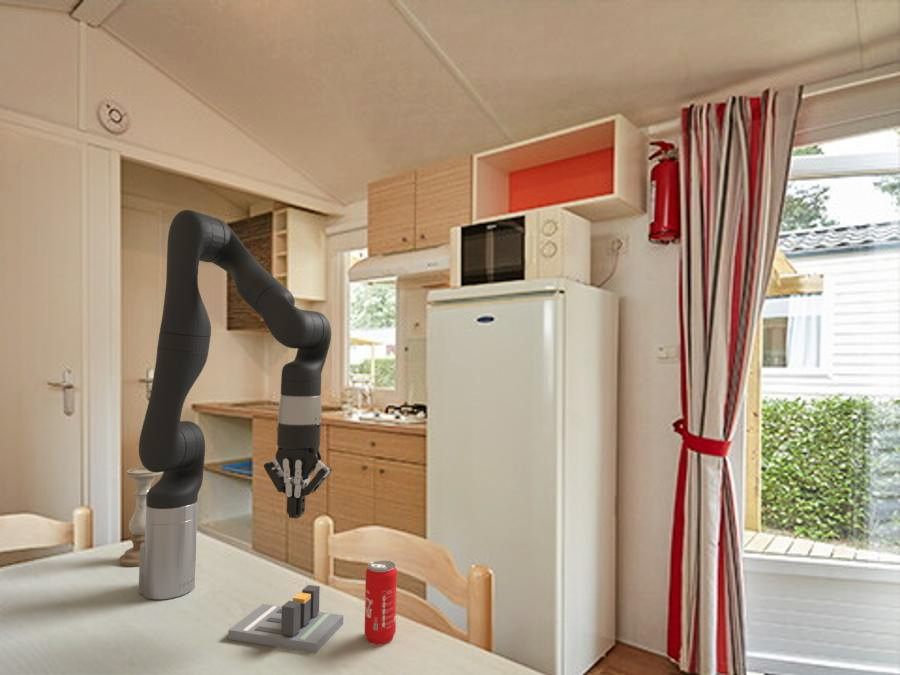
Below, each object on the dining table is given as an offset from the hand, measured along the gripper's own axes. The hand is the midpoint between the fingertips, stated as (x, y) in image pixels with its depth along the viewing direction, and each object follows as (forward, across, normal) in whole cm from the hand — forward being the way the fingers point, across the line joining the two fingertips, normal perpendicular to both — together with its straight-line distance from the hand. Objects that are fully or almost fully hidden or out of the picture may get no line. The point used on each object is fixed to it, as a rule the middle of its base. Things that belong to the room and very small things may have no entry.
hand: (295, 517), depth 99 cm
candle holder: (+19, -48, +15) cm, 54 cm away
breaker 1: (+16, +4, -7) cm, 18 cm away
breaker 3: (+16, +4, 0) cm, 17 cm away
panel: (+18, +2, -4) cm, 19 cm away
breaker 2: (+16, +4, -4) cm, 17 cm away
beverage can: (+18, +18, -1) cm, 25 cm away
